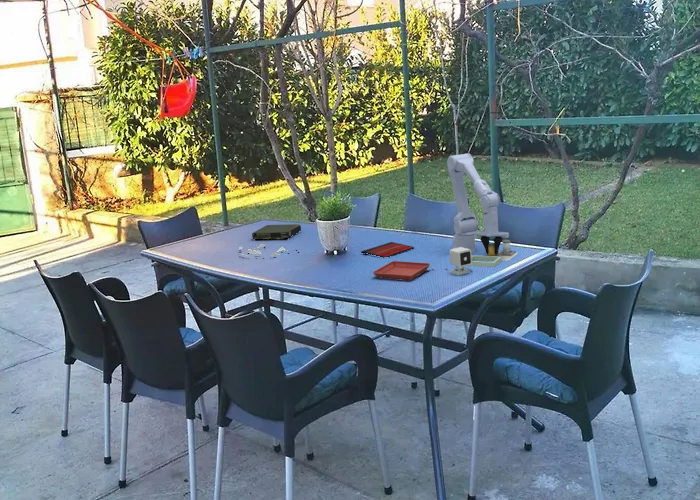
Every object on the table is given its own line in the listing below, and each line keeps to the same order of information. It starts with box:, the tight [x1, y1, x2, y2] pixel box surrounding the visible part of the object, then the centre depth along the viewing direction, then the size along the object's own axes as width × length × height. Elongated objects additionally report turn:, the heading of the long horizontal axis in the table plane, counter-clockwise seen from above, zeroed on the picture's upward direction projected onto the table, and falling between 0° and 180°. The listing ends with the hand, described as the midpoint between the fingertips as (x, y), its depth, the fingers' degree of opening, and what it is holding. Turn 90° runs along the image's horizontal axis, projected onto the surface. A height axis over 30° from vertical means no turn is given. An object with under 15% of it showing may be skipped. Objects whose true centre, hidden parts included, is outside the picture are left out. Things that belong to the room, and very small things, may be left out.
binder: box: [360, 241, 415, 258], centre depth 327 cm, size 16×2×21 cm
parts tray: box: [467, 254, 503, 268], centre depth 288 cm, size 13×10×3 cm
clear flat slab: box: [238, 243, 287, 256], centre depth 347 cm, size 35×24×3 cm
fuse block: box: [485, 249, 519, 262], centre depth 297 cm, size 12×13×2 cm
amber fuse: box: [488, 242, 496, 256], centre depth 294 cm, size 3×3×6 cm
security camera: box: [449, 247, 473, 276], centre depth 279 cm, size 6×7×10 cm
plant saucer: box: [372, 260, 431, 281], centre depth 286 cm, size 18×18×3 cm
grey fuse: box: [501, 239, 511, 253], centre depth 298 cm, size 3×3×6 cm
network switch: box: [251, 223, 302, 240], centre depth 385 cm, size 23×23×5 cm
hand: (492, 253), depth 294 cm, fingers closed on amber fuse, 3 cm apart
